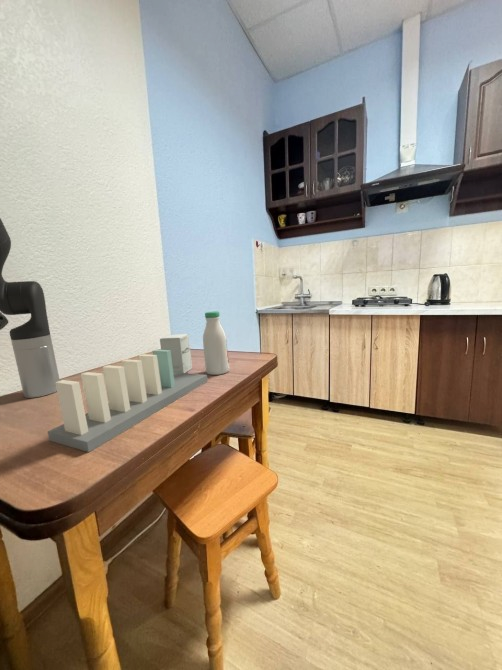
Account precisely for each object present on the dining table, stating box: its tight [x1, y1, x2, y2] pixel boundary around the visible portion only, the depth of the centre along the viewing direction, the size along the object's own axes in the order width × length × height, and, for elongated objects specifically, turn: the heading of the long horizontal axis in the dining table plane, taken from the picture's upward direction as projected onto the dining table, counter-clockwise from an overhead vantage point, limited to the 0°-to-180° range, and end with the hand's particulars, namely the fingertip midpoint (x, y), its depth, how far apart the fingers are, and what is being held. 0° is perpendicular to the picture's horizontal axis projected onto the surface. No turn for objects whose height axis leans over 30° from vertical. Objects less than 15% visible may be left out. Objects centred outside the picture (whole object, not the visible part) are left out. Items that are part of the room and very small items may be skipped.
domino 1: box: [55, 379, 88, 435], centre depth 53 cm, size 1×5×10 cm, turn 65°
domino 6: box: [152, 349, 175, 388], centre depth 75 cm, size 1×5×10 cm, turn 65°
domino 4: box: [121, 358, 147, 403], centre depth 66 cm, size 1×5×10 cm, turn 65°
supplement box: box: [159, 333, 193, 373], centre depth 95 cm, size 7×7×13 cm
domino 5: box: [137, 353, 162, 395], centre depth 71 cm, size 1×5×10 cm, turn 65°
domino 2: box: [80, 371, 111, 423], centre depth 57 cm, size 1×5×10 cm, turn 65°
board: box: [47, 372, 209, 453], centre depth 69 cm, size 12×38×2 cm, turn 155°
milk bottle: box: [202, 311, 230, 376], centre depth 91 cm, size 8×8×20 cm
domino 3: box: [102, 364, 130, 412], centre depth 62 cm, size 1×5×10 cm, turn 65°
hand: (1, 326), depth 43 cm, fingers closed
